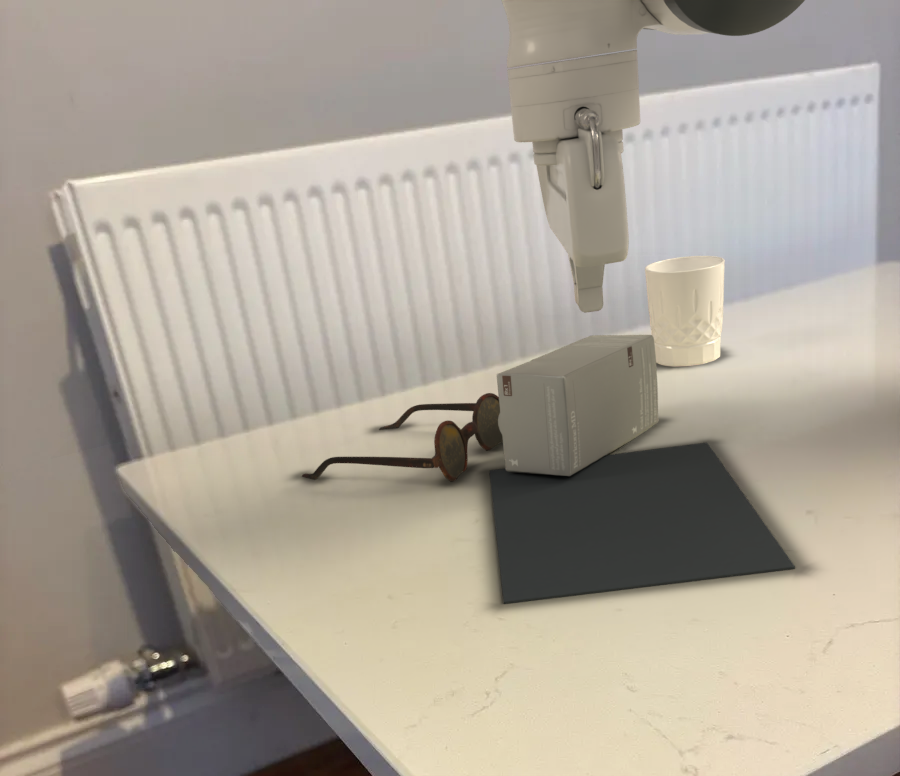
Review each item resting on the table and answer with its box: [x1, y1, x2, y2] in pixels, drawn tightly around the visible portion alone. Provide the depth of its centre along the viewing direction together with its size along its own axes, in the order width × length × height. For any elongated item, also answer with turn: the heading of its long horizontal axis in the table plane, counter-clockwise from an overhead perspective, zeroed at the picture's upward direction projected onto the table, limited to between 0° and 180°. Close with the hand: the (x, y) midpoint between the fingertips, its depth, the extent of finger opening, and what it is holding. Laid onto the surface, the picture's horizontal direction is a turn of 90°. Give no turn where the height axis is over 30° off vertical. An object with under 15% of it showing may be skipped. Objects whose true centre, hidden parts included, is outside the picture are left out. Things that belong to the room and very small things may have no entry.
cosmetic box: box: [496, 334, 660, 476], centre depth 86 cm, size 8×7×16 cm
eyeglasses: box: [301, 392, 503, 482], centre depth 91 cm, size 15×15×5 cm
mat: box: [489, 442, 796, 605], centre depth 74 cm, size 18×24×1 cm
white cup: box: [644, 255, 726, 367], centre depth 106 cm, size 8×8×10 cm
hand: (589, 308), depth 77 cm, fingers closed
